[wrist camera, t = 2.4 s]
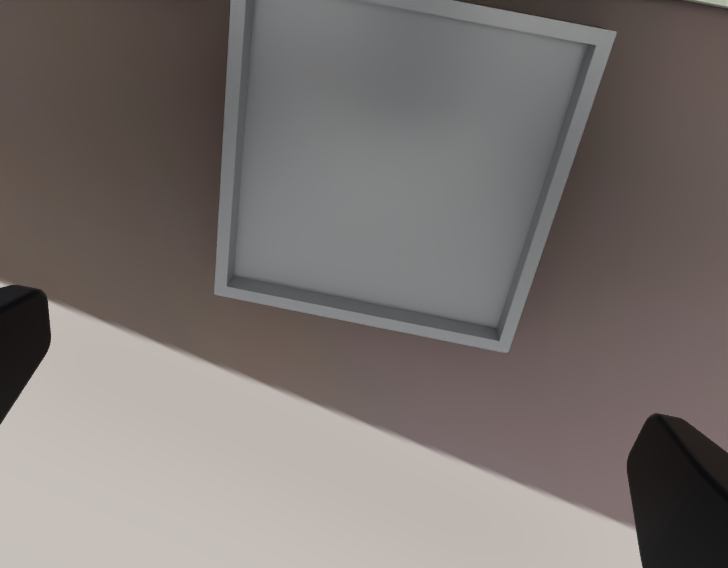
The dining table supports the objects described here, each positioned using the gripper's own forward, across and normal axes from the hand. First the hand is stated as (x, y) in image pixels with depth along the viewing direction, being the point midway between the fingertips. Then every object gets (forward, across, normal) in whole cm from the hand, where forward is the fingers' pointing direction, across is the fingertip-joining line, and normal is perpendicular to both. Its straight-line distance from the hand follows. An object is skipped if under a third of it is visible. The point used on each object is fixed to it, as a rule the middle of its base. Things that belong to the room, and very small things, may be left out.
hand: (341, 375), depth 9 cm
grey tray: (+11, 0, 0) cm, 11 cm away
